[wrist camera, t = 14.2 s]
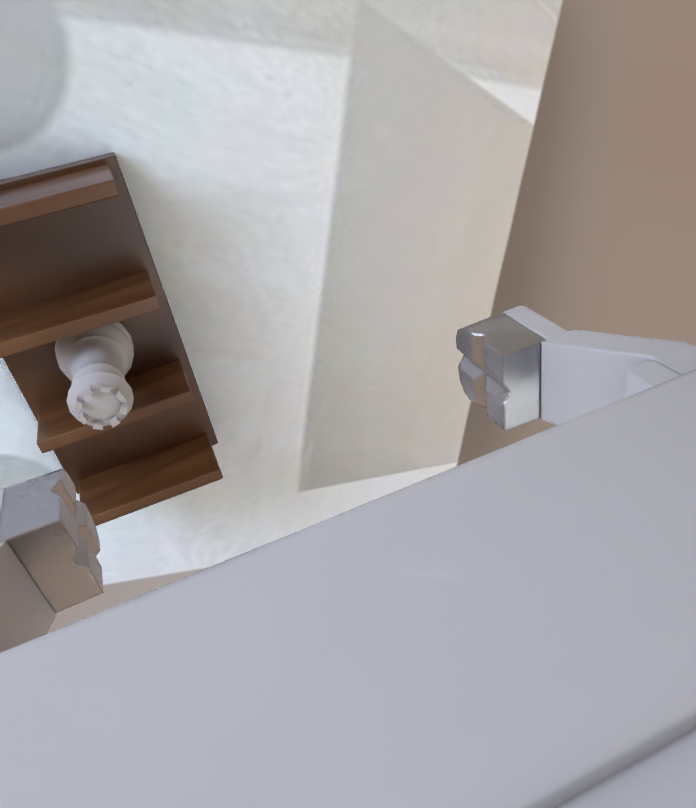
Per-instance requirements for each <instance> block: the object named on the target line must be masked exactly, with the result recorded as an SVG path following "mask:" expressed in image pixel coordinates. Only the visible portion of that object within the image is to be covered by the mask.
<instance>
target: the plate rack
mask: <svg viewBox="0 0 696 808" xmlns="http://www.w3.org/2000/svg"><path fill="white" fill-rule="evenodd" d="M116 322H119V323H120V324H122V325H123V326H124V328H125V329H126V330H127V331H128V333H129V334H130V335H131V339H132V343H133V347H134V350H133V352H134V356H133V361H132V366H131V368H130V370H129V371H128V372H127V374H126V375H125V376H124V377H125V380H126V382H127V383H128V384H129V386H130V387H131V389H132V393H133V397H134V400H133V405H132V409H131V410H130V411H129V413H128V414H127V415H126V417H125V418H123V419H122V420H121V423H119V424H118V425H116V426H115V427H112V426H111V425H108V426H103V430H99V429H93V426H89V425H87V424H84V425H83V423H82V422H80V421H78V420H77V419H76V418H75V417H74V416H73V415H72V414H71V412H70V410H69V407H68V404H67V396H68V391H69V389H70V388H71V385H72V381H70V379H69V378H68V377H67V376H66V375H65V374H64V373H63V372H62V371H61V369H60V368H59V364H58V361H57V358H56V353H55V344H56V341H58V340H61V339H64V338H67V337H71V336H74V335H77V334H80V333H84V332H87V331H90V330H93V329H97V328H100V327H103V326H106V325H110V324H113V323H116ZM2 357H3V359H4V361H5V363H6V364H7V366H8V368H9V370H10V372H11V374H12V375H13V377H14V379H15V381H16V383H17V385H18V386H19V388H20V390H21V392H22V394H23V395H24V397H25V399H26V401H27V403H28V405H29V406H30V408H31V410H32V412H33V414H34V416H35V417H36V419H37V421H38V432H37V445H38V446H39V448H40V450H41V452H42V453H45V452H48V451H51V450H54V452H55V454H56V456H57V458H58V459H59V461H60V463H61V465H62V467H63V468H64V470H65V471H66V472H67V473H68V474H69V476H70V478H71V479H72V481H73V483H74V484H75V488H76V492H77V494H80V502H82V503H84V504H86V506H87V508H88V510H89V512H90V514H91V516H92V519H93V521H94V523H95V526H97V525H100V524H102V523H105V522H108V521H110V520H113V519H116V518H118V517H121V516H124V515H126V514H129V513H132V512H134V511H137V510H140V509H142V508H145V507H148V506H150V505H153V504H156V503H158V502H161V501H164V500H166V499H169V498H172V497H174V496H177V495H180V494H182V493H185V492H188V491H190V490H193V489H196V488H198V487H201V486H204V485H206V484H209V483H212V482H214V481H217V480H220V479H222V478H223V476H222V473H221V470H220V468H219V465H218V462H217V459H216V457H215V454H214V451H213V448H212V445H214V444H217V443H218V441H217V438H216V436H215V433H214V430H213V427H212V424H211V422H210V419H209V416H208V413H207V410H206V408H205V405H204V402H203V399H202V396H201V394H200V391H199V388H198V385H197V382H196V380H195V377H194V374H193V371H192V368H191V366H190V363H189V360H188V357H187V354H186V352H185V349H184V346H183V343H182V340H181V338H180V335H179V332H178V329H177V326H176V324H175V321H174V318H173V315H172V312H171V310H170V307H169V304H168V301H167V298H166V296H165V293H164V290H163V287H162V284H161V282H160V279H159V276H158V273H157V270H156V268H155V265H154V262H153V259H152V256H151V254H150V251H149V248H148V245H147V242H146V240H145V237H144V234H143V231H142V228H141V226H140V223H139V220H138V217H137V214H136V212H135V209H134V206H133V203H132V200H131V198H130V195H129V192H128V189H127V186H126V184H125V181H124V178H123V175H122V172H121V170H120V167H119V164H118V161H117V158H116V156H115V153H109V154H105V155H101V156H97V157H93V158H89V159H85V160H81V161H77V162H73V163H69V164H65V165H61V166H57V167H53V168H49V169H45V170H41V171H36V172H32V173H28V174H24V175H20V176H16V177H12V178H8V179H4V180H0V358H2Z"/></svg>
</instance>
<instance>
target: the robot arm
mask: <svg viewBox="0 0 696 808" xmlns="http://www.w3.org/2000/svg"><path fill="white" fill-rule="evenodd" d="M456 344H457V349H458V350H459V351H460V352H461V353H462V354H464V356H463V358H462V360H461V362H460V364H459V366H458V368H459V377H460V382H461V384H462V387H463V390H464V392H465V393H466V395H467V396H468V398H469V399H470V400H471V401H472V402H473V403H474V404H475V405H478V406H482V407H487V415H488V416H489V417H490V418H491V419H492V420H493V421H494V422H495V423H496V424H498V425H499V426H500V427H501V428H502V429H503V430H504V431H507V430H510V429H513V428H515V427H518V426H521V425H523V424H526V423H529V422H532V421H534V420H537V419H540V418H541V420H543V421H546V422H549V423H552V424H555V425H557V426H555V427H552V428H550V429H547V430H545V431H543V432H540V433H538V434H535V435H533V436H530V437H528V438H525V439H523V440H521V441H518V442H516V443H513V444H511V445H508V446H506V447H503V448H501V449H499V450H496V451H494V452H491V453H489V454H486V455H484V456H481V457H479V458H476V459H474V460H471V461H469V462H467V463H464V464H462V465H459V466H457V467H454V468H452V469H449V470H447V471H444V472H442V473H440V474H437V475H435V476H432V477H430V478H427V479H425V480H422V481H420V482H418V483H415V484H413V485H410V486H408V487H405V488H403V489H400V490H398V491H395V492H393V493H391V494H388V495H386V496H383V497H381V498H378V499H376V500H373V501H371V502H369V503H366V504H364V505H361V506H359V507H356V508H354V509H351V510H349V511H346V512H344V513H342V514H339V515H337V516H334V517H332V518H329V519H327V520H324V521H322V522H320V523H317V524H315V525H312V526H310V527H307V528H305V529H302V530H300V531H297V532H295V533H293V534H290V535H288V536H285V537H283V538H280V539H278V540H275V541H273V542H270V543H268V544H266V545H263V546H261V547H258V548H256V549H253V550H251V551H248V552H246V553H244V554H241V555H239V556H236V557H234V558H231V559H229V560H226V561H224V562H221V563H219V564H217V565H214V566H212V567H209V568H207V569H205V570H202V571H199V572H197V573H195V574H192V575H190V576H187V577H185V578H182V579H180V580H178V581H175V582H173V583H170V584H168V585H165V586H163V587H160V588H158V589H155V590H153V591H150V592H148V593H145V594H143V595H141V596H138V597H136V598H133V599H131V600H128V601H126V602H123V603H121V604H119V605H116V606H114V607H111V608H109V609H106V610H104V611H101V612H99V613H97V614H94V615H92V616H89V617H87V618H84V619H82V620H79V621H77V622H74V623H72V624H70V625H67V626H65V627H62V628H60V629H57V630H55V631H53V632H50V633H47V631H48V630H49V628H50V626H51V624H52V623H53V621H54V619H55V617H56V614H55V613H57V612H59V611H62V610H64V609H66V608H69V607H71V606H73V605H76V604H78V603H80V602H83V601H84V600H87V599H90V598H92V597H94V596H97V595H99V594H101V593H103V581H102V567H101V565H100V563H99V561H98V560H97V558H96V556H97V554H98V553H99V551H100V543H99V537H98V534H97V530H96V526H95V523H94V521H93V519H92V516H91V514H90V512H89V510H88V508H87V506H86V504H84V503H82V502H80V501H78V500H76V488H75V484H74V483H73V481H72V479H71V478H70V476H69V474H68V473H67V472H66V471H65V470H64V469H60V470H57V471H54V472H51V473H48V474H45V475H42V476H39V477H36V478H33V479H30V480H27V481H24V482H21V483H18V484H15V485H12V486H9V487H7V488H2V489H0V808H696V346H694V345H692V344H690V343H688V342H682V341H672V340H664V339H654V338H646V337H636V336H628V335H619V334H610V333H600V332H591V331H582V330H573V331H570V332H568V331H566V330H565V329H563V328H561V327H559V326H558V325H556V324H554V323H553V322H551V321H549V320H547V319H546V318H544V317H542V316H540V315H539V314H537V313H536V312H534V311H532V310H531V309H529V308H527V307H525V306H518V307H515V308H512V309H510V310H507V311H505V312H502V313H500V314H497V315H495V316H492V317H490V318H487V319H484V320H482V321H479V322H477V323H474V324H471V325H469V326H466V327H464V328H461V329H459V330H458V331H457V336H456Z"/></svg>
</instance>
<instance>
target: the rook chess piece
mask: <svg viewBox="0 0 696 808" xmlns="http://www.w3.org/2000/svg"><path fill="white" fill-rule="evenodd" d="M133 350H134V347H133V343H132V339H131V335H130V334H129V333H128V331H127V330H126V329H125V328H124V326H123V325H122V324H120V323H119V322H116V323H113V324H110V325H106V326H103V327H100V328H97V329H93V330H90V331H87V332H84V333H80V334H77V335H74V336H71V337H67V338H64V339H61V340H58V341H56V344H55V353H56V358H57V361H58V364H59V368H60V369H61V371H62V372H63V373H64V374H65V375H66V376H67V377H68V378H69V379H70V381H72V385H71V388H70V389H69V391H68V396H67V404H68V407H69V410H70V412H71V414H72V415H73V416H74V417H75V418H76V419H77V420H78V421H80V422H82V423H83V425H84V424H87V425H89V426H93V429H99V430H103V426H108V425H111V426H112V427H115V426H116V425H118V424H119V423H121V420H122V419H123V418H125V417H126V415H127V414H128V413H129V411H130V410H131V409H132V405H133V400H134V397H133V393H132V389H131V387H130V386H129V384H128V383H127V382H126V380H125V377H124V376H125V375H126V374H127V372H128V371H129V370H130V368H131V366H132V361H133V356H134V352H133Z"/></svg>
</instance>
